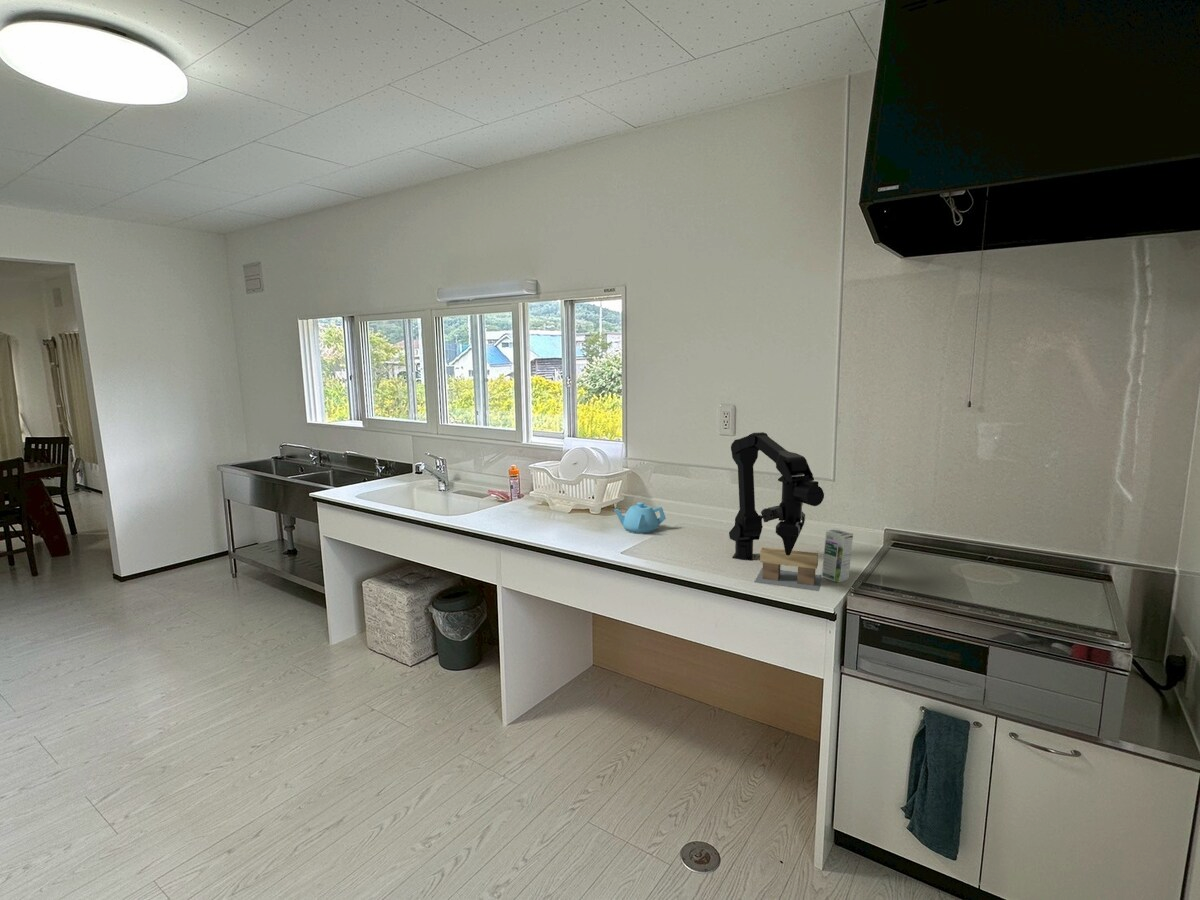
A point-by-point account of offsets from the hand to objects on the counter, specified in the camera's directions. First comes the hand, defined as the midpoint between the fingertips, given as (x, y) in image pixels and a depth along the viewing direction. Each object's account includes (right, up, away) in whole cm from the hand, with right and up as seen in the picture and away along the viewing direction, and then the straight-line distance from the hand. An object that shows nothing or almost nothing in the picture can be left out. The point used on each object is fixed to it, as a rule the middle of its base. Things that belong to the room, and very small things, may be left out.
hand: (789, 550), depth 180 cm
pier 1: (-5, -9, +3) cm, 10 cm away
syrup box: (+14, -9, +3) cm, 17 cm away
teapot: (-40, -2, +59) cm, 71 cm away
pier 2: (+5, -9, -1) cm, 10 cm away
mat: (0, -9, +2) cm, 9 cm away
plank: (0, -4, +1) cm, 4 cm away
